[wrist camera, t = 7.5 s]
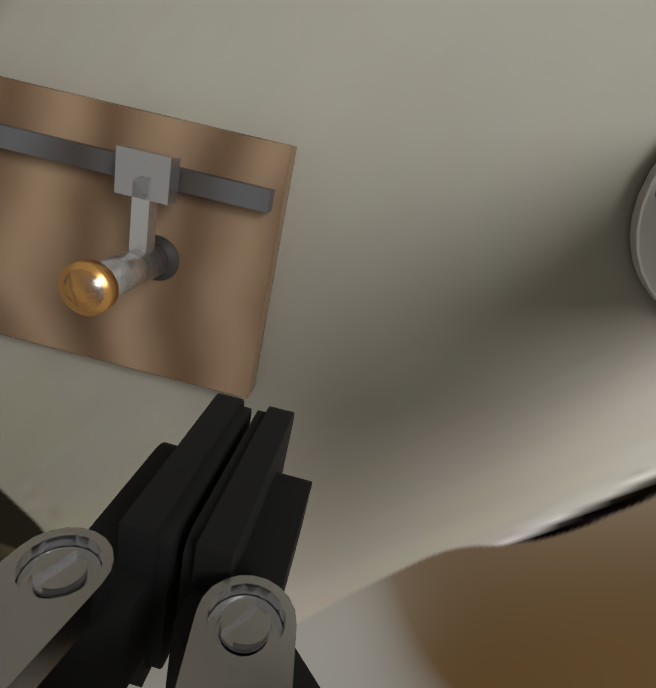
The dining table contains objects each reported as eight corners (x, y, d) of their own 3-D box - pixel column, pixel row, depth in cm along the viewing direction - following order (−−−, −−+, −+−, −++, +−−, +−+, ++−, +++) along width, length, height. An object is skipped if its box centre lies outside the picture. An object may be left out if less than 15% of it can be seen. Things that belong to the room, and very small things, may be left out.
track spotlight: (186, 157, 27) (120, 160, 21) (174, 285, 30) (112, 323, 23) (135, 145, 27) (53, 143, 21) (127, 274, 30) (53, 307, 24)
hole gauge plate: (296, 146, 28) (253, 145, 20) (253, 388, 34) (207, 464, 26) (-63, 61, 29) (-249, 25, 21) (-42, 311, 35) (-178, 361, 27)
